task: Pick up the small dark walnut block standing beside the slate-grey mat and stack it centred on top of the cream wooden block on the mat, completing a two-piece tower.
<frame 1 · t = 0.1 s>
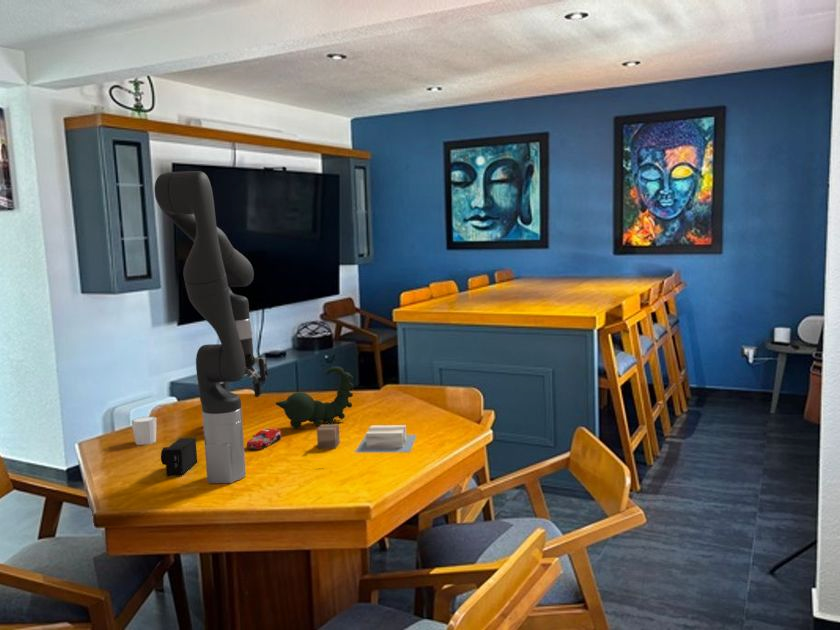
hand: (242, 396, 183), 17 cm above the table, tool pointing down, fingers open, 8 cm apart
toy figurine: (316, 425, 218), on the table
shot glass: (145, 442, 206), on the table
toy lion: (227, 428, 218), on the table
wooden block: (386, 443, 193), point 1 cm above the table, touching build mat
race car: (264, 445, 200), on the table
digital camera: (180, 470, 180), on the table
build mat: (386, 445, 193), on the table
walnut block: (329, 448, 193), on the table
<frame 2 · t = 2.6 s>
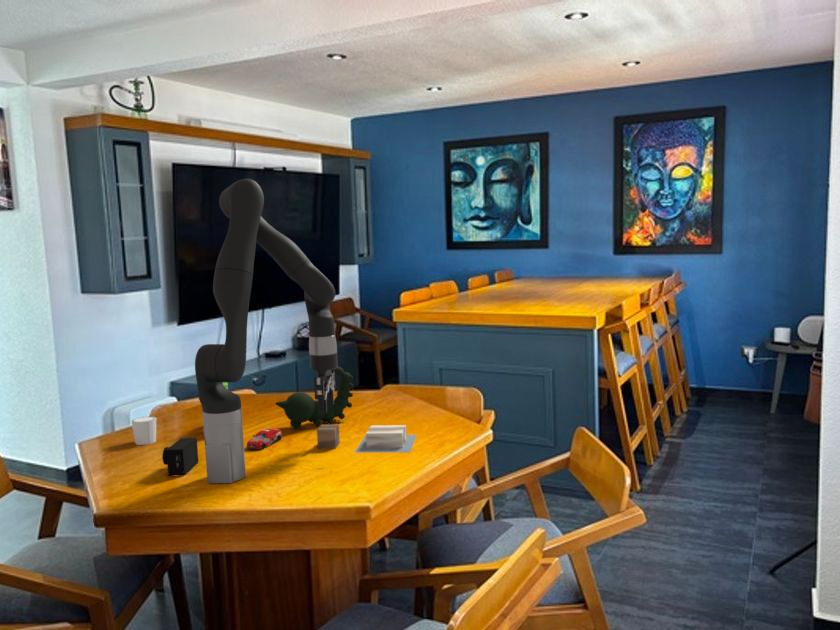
hand: (326, 409, 192), 11 cm above the table, tool pointing down, fingers open, 8 cm apart
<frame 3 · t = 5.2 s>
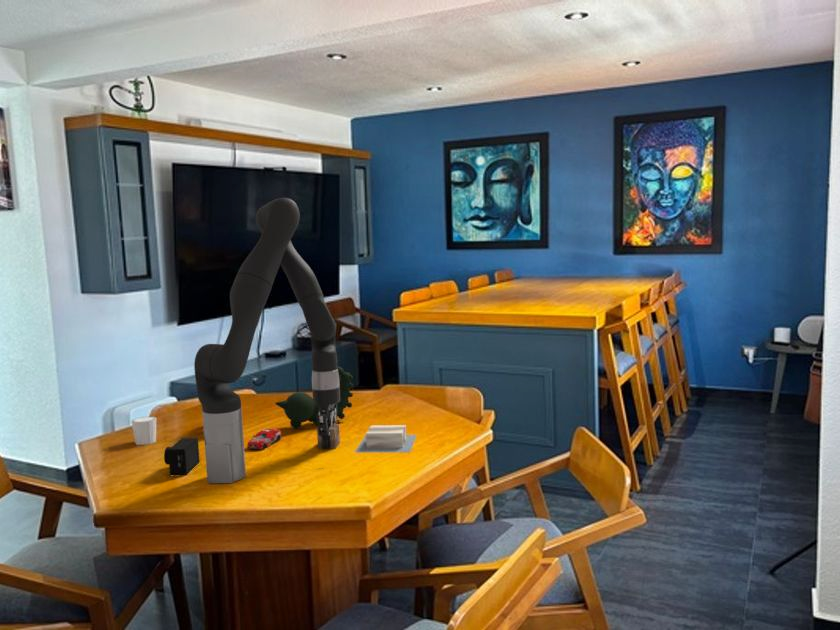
hand: (329, 445, 193), 1 cm above the table, tool pointing down, fingers closed on walnut block, 5 cm apart
walnut block: (329, 447, 193), on the table, touching gripper
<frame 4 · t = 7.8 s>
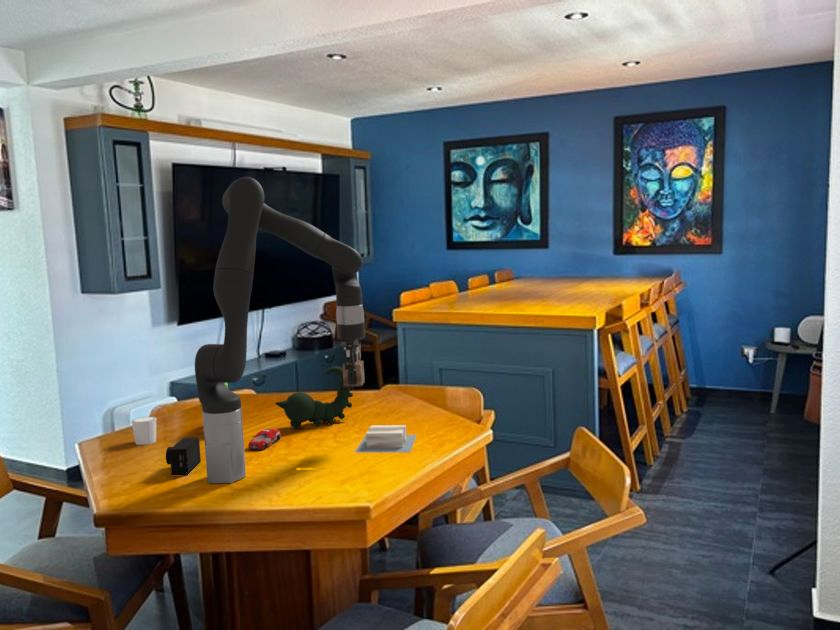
hand: (354, 381, 192), 18 cm above the table, tool pointing down, fingers closed on walnut block, 5 cm apart
walnut block: (354, 384, 193), point 17 cm above the table, touching gripper
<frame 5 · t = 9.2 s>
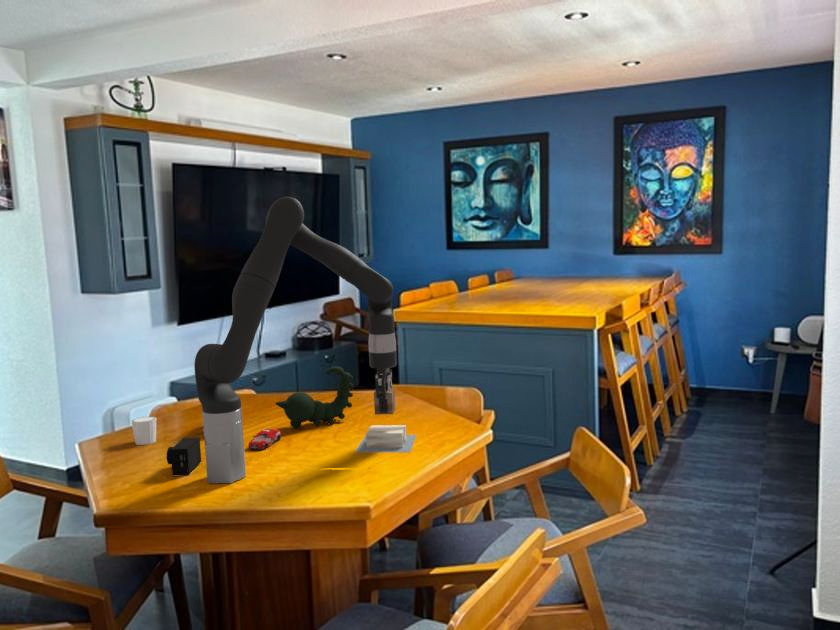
hand: (385, 409, 192), 10 cm above the table, tool pointing down, fingers closed on walnut block, 5 cm apart
walnut block: (385, 412, 192), point 9 cm above the table, touching gripper
when the fingers open (6 cm above the table, at t = 10.4 s): walnut block drops 1 cm, resting on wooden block.
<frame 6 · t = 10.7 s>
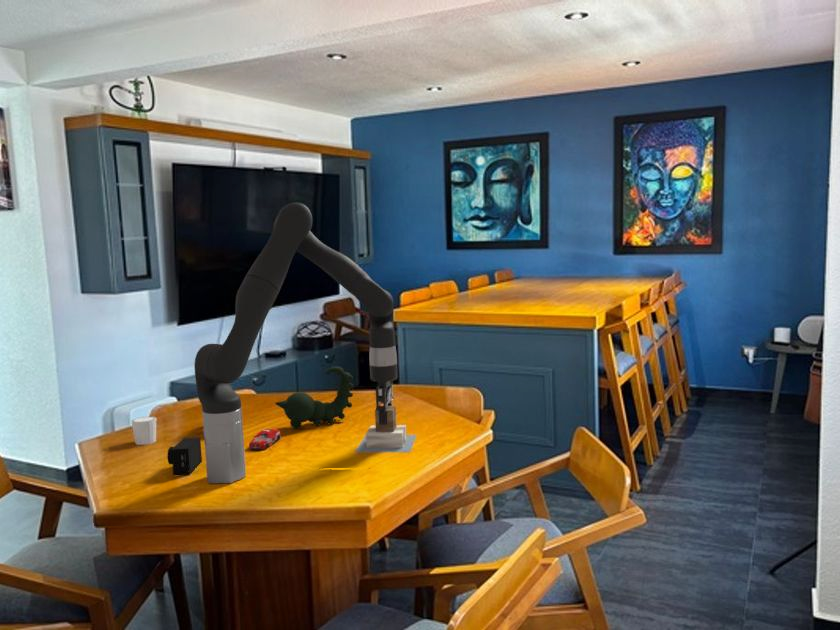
hand: (385, 420, 193), 7 cm above the table, tool pointing down, fingers open, 8 cm apart
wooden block: (386, 443, 193), point 1 cm above the table, touching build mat, walnut block
walnut block: (386, 429, 193), point 5 cm above the table, touching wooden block
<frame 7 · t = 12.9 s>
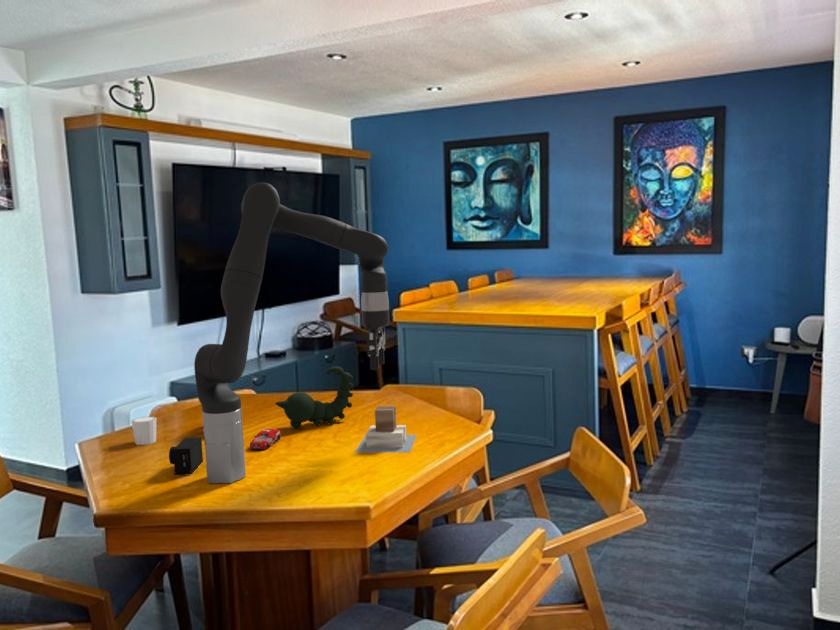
hand: (377, 367, 191), 22 cm above the table, tool pointing down, fingers open, 8 cm apart
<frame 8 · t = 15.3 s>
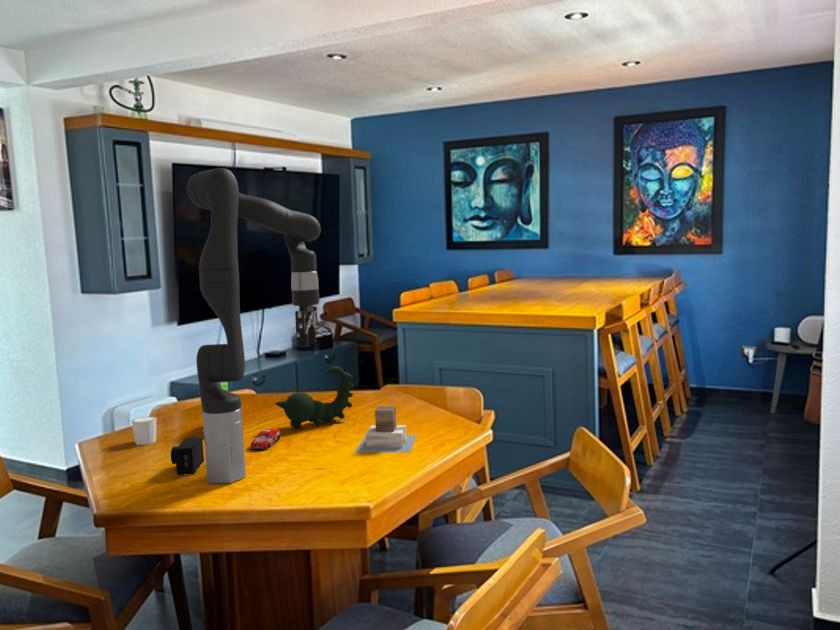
hand: (308, 345, 197), 28 cm above the table, tool pointing down, fingers open, 8 cm apart
at the end: walnut block 0.1 cm off-centre on the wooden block, point 4.0 cm above the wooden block's base; walnut block tilted 0°; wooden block moved 0.0 cm from its start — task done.
